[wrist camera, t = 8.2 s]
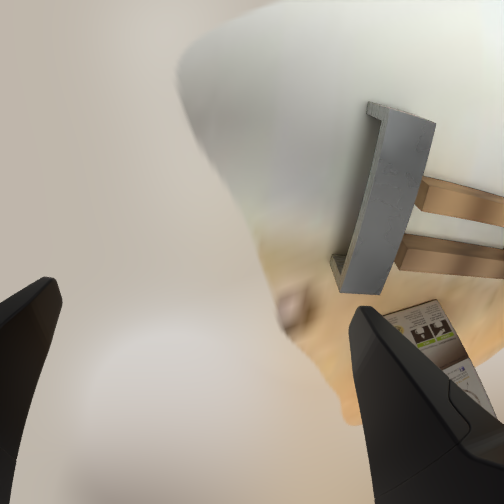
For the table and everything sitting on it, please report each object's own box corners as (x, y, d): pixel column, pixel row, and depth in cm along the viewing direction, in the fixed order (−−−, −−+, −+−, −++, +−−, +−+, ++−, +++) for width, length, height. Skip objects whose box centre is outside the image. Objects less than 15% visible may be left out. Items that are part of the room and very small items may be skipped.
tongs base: (534, 207, 20) (550, 220, 18) (508, 268, 23) (521, 283, 21) (415, 170, 19) (433, 183, 17) (388, 254, 22) (400, 273, 20)
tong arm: (533, 207, 19) (557, 226, 16) (526, 224, 20) (550, 244, 17) (415, 174, 19) (441, 195, 16) (408, 198, 20) (432, 222, 17)
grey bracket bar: (410, 113, 17) (436, 123, 14) (366, 266, 23) (379, 295, 20) (368, 101, 16) (390, 108, 14) (329, 263, 23) (339, 292, 20)
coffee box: (374, 317, 26) (430, 489, 12) (438, 297, 25) (513, 449, 11) (376, 372, 31) (410, 507, 17) (428, 355, 30) (475, 481, 16)
